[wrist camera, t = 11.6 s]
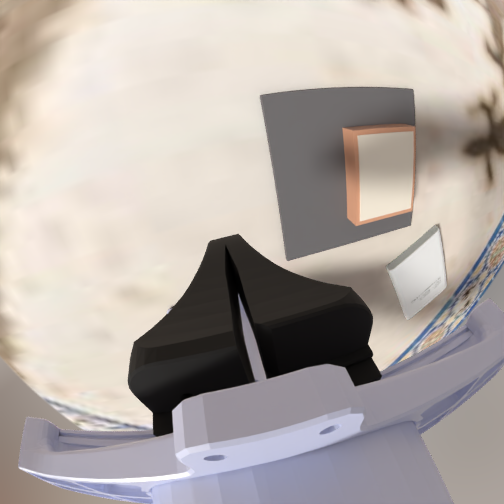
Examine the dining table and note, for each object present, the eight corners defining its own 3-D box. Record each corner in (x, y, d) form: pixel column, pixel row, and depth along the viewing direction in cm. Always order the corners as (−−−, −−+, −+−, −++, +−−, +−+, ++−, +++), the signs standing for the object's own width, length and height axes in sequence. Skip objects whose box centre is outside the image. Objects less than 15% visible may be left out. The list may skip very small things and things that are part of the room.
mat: (408, 223, 25) (410, 225, 25) (286, 258, 24) (287, 260, 24) (410, 89, 18) (412, 89, 17) (259, 95, 17) (261, 95, 16)
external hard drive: (431, 222, 27) (441, 280, 33) (382, 263, 28) (402, 314, 35) (440, 228, 26) (448, 286, 32) (390, 271, 27) (408, 321, 33)
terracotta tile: (347, 217, 23) (402, 204, 23) (356, 226, 22) (412, 211, 22) (342, 127, 19) (403, 123, 19) (353, 130, 17) (416, 126, 18)
